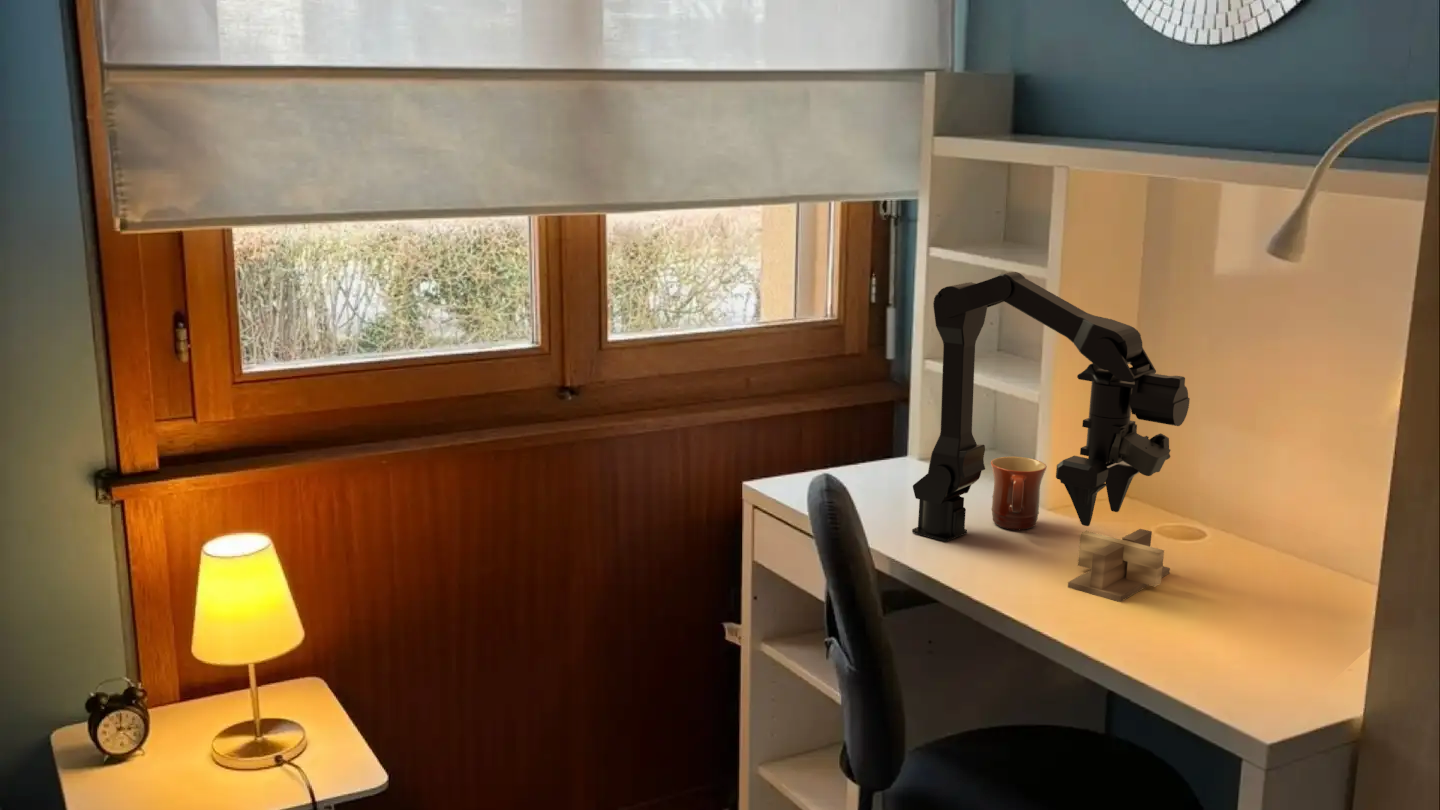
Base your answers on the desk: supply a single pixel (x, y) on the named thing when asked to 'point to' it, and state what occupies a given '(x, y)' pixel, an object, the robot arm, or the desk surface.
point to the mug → (1016, 492)
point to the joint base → (1113, 571)
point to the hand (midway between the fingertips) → (1100, 518)
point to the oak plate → (1125, 557)
